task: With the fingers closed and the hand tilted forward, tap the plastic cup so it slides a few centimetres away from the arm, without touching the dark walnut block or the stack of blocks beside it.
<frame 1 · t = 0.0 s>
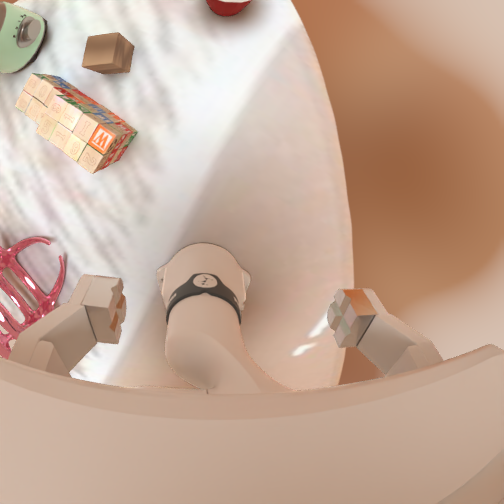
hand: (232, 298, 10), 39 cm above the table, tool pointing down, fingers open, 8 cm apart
plastic cup: (227, 4, 31), on the table
spiral basket: (35, 268, 48), on the table
green blender: (23, 45, 25), on the table
walnut block: (118, 60, 33), on the table
stack of blocks: (86, 115, 37), on the table
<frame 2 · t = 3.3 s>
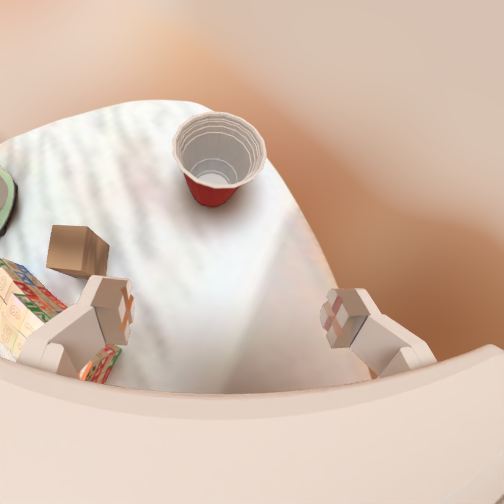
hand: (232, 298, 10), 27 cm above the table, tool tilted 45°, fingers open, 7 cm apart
plastic cup: (212, 189, 40), on the table
walnut block: (91, 261, 34), on the table
stack of blocks: (58, 322, 31), on the table
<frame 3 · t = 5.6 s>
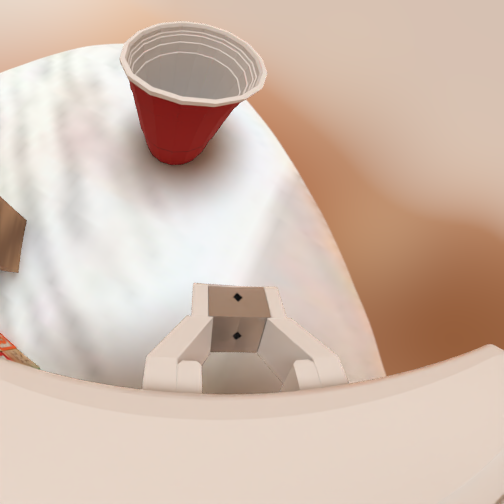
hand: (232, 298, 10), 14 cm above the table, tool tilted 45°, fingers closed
plastic cup: (177, 142, 26), on the table
walnut block: (3, 244, 18), on the table
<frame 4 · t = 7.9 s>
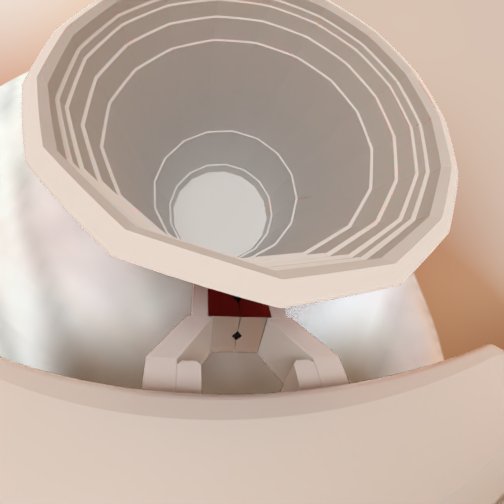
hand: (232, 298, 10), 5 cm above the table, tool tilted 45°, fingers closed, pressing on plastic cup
plastic cup: (223, 214, 16), on the table, touching gripper
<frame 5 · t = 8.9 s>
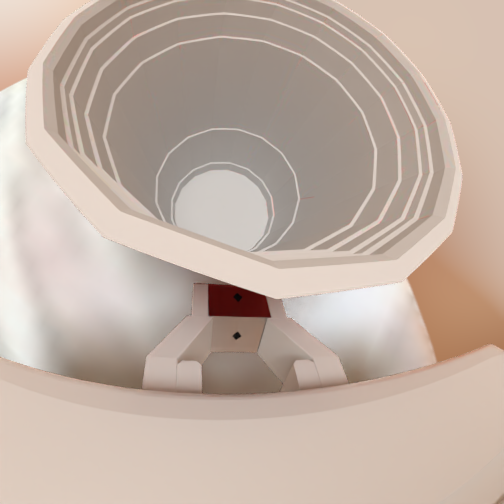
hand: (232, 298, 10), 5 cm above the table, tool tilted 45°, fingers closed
plastic cup: (225, 212, 16), on the table
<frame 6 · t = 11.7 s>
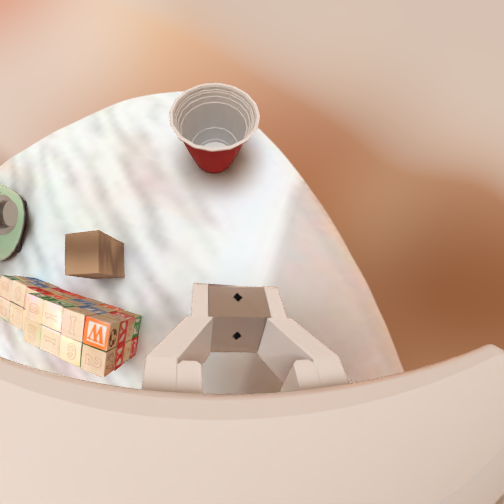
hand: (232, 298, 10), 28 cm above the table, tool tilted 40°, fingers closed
plastic cup: (215, 157, 41), on the table
green blender: (6, 227, 35), on the table
walnut block: (109, 261, 37), on the table
stack of blocks: (79, 314, 35), on the table
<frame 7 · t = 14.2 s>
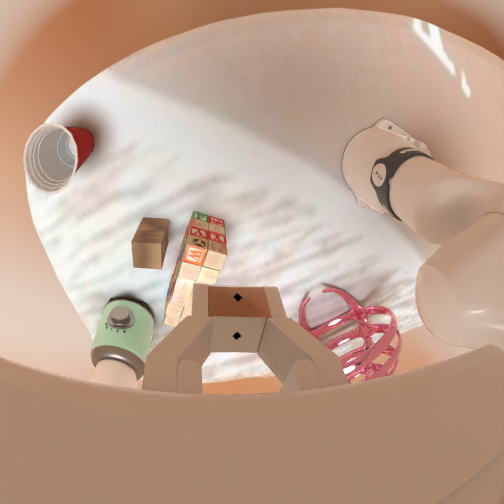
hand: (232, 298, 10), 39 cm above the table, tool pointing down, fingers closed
plastic cup: (81, 142, 39), on the table
spiral basket: (325, 313, 70), on the table
green blender: (130, 315, 62), on the table
walnut block: (155, 230, 50), on the table
stack of blocks: (192, 259, 56), on the table
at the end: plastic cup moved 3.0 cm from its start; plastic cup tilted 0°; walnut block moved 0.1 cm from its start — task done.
